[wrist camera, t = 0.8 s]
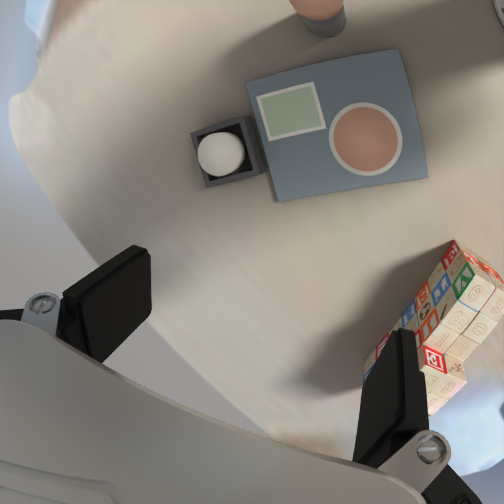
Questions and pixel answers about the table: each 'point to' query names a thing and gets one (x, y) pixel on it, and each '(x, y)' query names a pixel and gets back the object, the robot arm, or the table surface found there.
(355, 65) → the picture board
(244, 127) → the button housing
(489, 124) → the table surface
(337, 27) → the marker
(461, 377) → the stack of blocks
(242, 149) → the button
